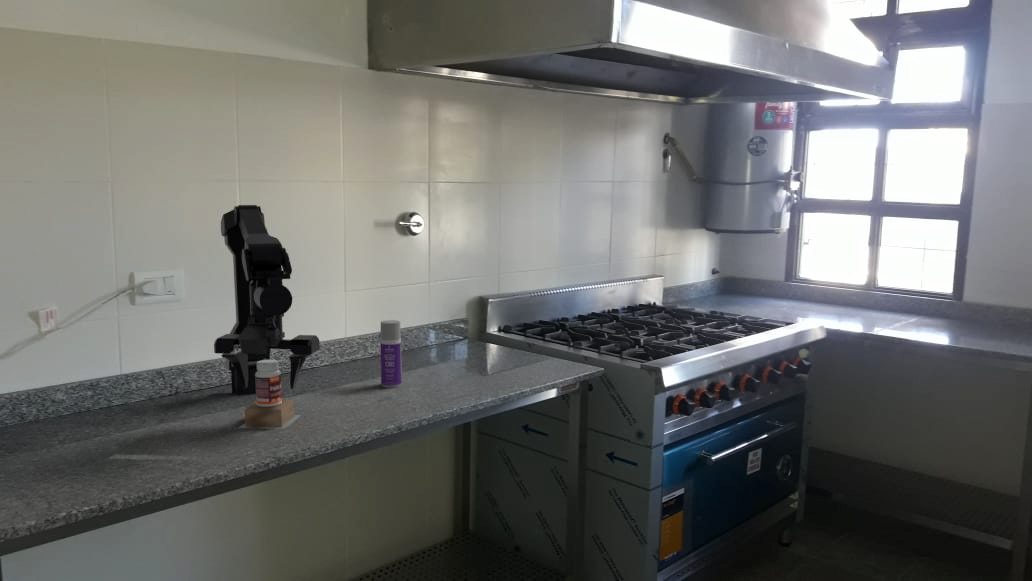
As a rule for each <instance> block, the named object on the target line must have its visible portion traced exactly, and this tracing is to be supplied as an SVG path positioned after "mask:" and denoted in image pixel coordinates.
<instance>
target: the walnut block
mask: <svg viewBox="0 0 1032 581" xmlns="http://www.w3.org/2000/svg"><path fill="white" fill-rule="evenodd" d="M294 408H295V406H294V399H282V403H281V404H280V405H277V406H273V407H261V406H258V405H257V404H256V400H255V401H254V402H252V403H251V404H250V405H249V406H247V407H245V408H244V415H245V416H244V417H245V418H244V421H245V422H244V423H245V424H246V426H251V427H283V426H284V425H285V424H286V423H287V422H288V421H289V420H291V419H292V418H293V417H294V415H295V409H294Z"/></svg>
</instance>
